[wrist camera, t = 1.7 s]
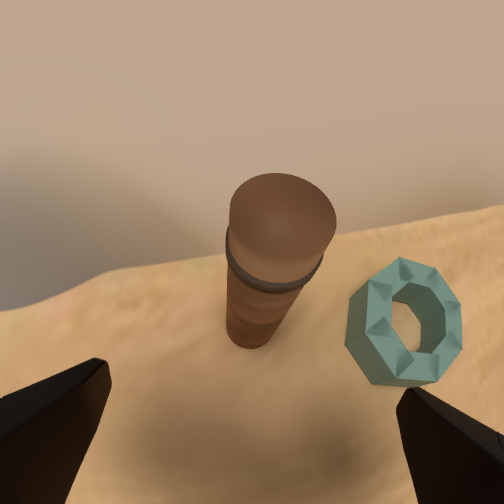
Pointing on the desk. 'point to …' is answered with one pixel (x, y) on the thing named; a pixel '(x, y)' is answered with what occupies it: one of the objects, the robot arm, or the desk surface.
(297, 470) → the desk surface
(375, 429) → the desk surface
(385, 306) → the green faceted ring
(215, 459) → the desk surface
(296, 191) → the banded wooden post
